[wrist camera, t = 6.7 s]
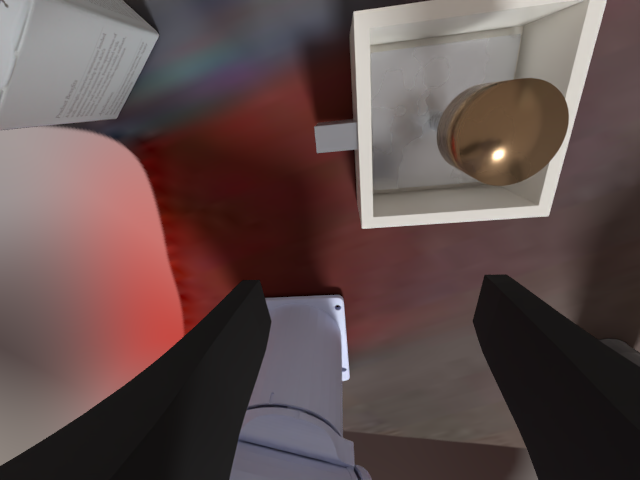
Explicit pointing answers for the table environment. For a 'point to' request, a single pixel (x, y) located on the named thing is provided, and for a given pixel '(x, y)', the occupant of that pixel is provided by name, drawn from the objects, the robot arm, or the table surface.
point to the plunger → (460, 116)
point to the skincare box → (68, 60)
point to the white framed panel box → (532, 62)
